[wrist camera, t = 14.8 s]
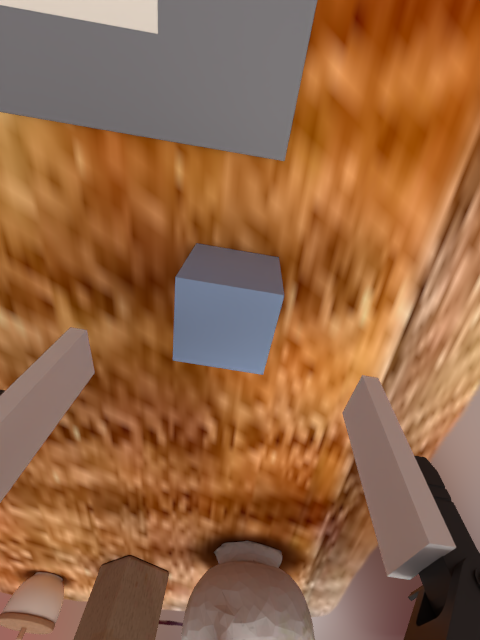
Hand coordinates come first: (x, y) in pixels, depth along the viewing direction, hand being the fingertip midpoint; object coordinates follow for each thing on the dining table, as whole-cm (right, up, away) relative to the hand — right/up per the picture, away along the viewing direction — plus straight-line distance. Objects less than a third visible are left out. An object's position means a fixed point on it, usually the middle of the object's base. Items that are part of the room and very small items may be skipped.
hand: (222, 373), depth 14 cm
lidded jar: (-42, -55, +50) cm, 85 cm away
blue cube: (0, +5, +8) cm, 10 cm away
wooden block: (-20, -47, +43) cm, 67 cm away
